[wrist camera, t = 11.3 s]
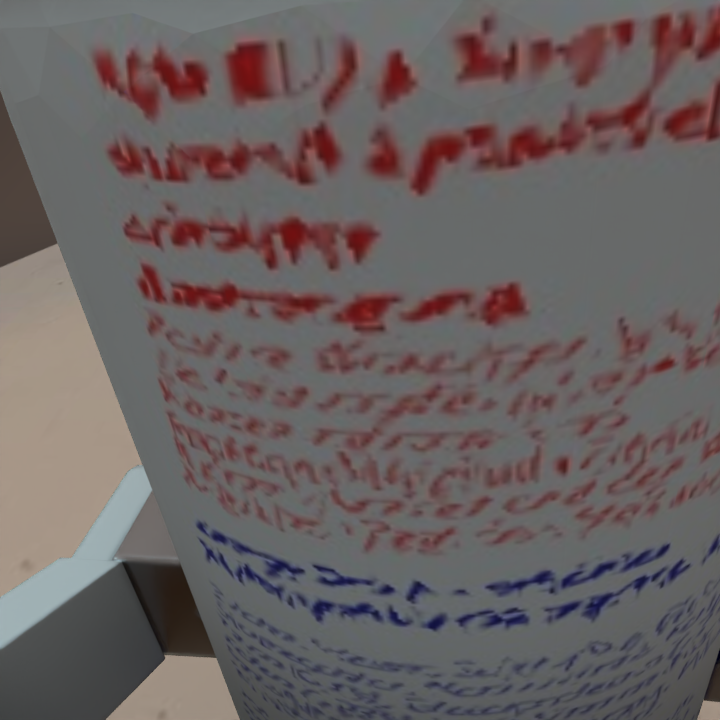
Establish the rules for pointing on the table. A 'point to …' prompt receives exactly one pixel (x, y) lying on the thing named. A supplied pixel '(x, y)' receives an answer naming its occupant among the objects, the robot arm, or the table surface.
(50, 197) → the beverage can
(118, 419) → the table surface
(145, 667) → the robot arm
